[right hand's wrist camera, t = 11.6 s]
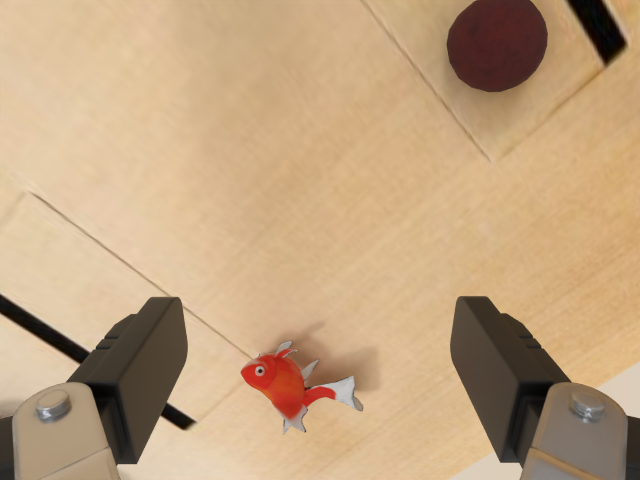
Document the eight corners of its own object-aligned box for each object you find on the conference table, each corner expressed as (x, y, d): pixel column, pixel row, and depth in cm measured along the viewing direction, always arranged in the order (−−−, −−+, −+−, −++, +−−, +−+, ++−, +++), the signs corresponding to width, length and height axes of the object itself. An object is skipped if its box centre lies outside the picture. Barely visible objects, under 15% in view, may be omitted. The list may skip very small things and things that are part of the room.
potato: (498, 101, 38) (536, 105, 31) (423, 74, 37) (446, 72, 30) (537, 17, 35) (587, 2, 29) (457, -14, 34) (490, -37, 28)
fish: (302, 308, 41) (300, 411, 35) (379, 351, 51) (388, 437, 45) (230, 334, 46) (218, 428, 40) (313, 369, 56) (313, 448, 50)
